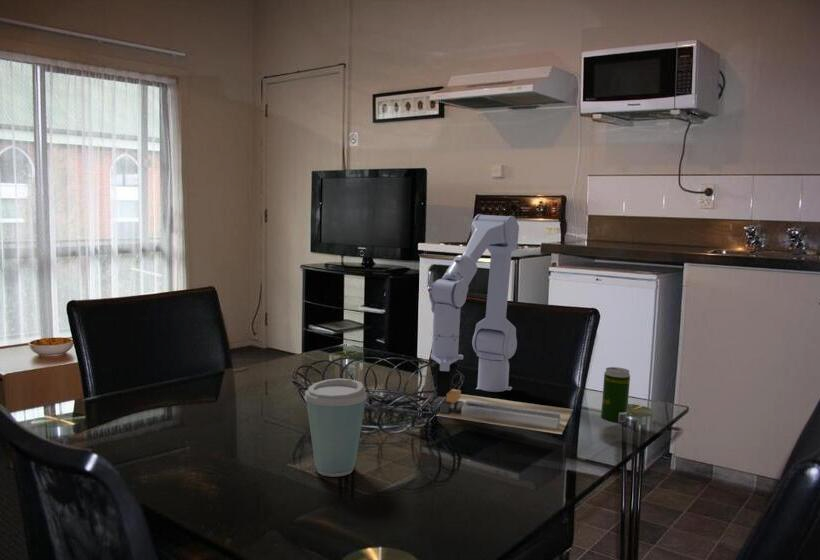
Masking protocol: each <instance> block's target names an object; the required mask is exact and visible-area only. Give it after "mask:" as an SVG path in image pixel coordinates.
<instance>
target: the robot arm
mask: <svg viewBox="0 0 820 560" xmlns="http://www.w3.org/2000/svg"><path fill="white" fill-rule="evenodd" d="M470 229H471V231H470V232H471V236H470V239H469V240H468V243H467V244H466V247H465V248H464V251H463V253H462V254H459V255H456V256H455V257H454V258H453V260H452V262H451V264H450V265H449V266H448V268H447V269H446V271H445V273H444V274H443V276H442V277H441V278H439V279H437V280H434V282H433V283H432V284H431V286H430V291H429V293H428V294H429V295H428V297H429V302H430V304H431V312H432V313H433V320H432V321H433V323H432V324H433V325H432V343H431V353H430V358H431V360H433V361H432V362H431V364H430V365H431V370H432V373H433V375H434V378H435V384H436V392H437V394H436V395H437V398H438V397H445V396H446V394H447V393H448V392H449V391H450V389H451V385H452V381H453V378H454V375H455V373H456V372H457V370H458V363H457V361H458V360H464V355H463V354H459V348H460V347H459V345H460V344H459V342H460V324H461V308H462V307H463V306H464V304H465V303H466V300H467V296H468V292H469V285H470V283H471V282H472V280H473V278H474V276H476V273H477V271H478V266H477V262H478V261H479V260H480V258H481V257H482V255H484V253H485V252H486V250H487V251H488V252H489V253H490V260H489V261H490V262H489V274H488V283H487V284H488V285H487V296H486V307H485V308H486V309H485V317H484V318H483V319H481V320H479V322H477V323H476V324H475V329H474V333H473V336H472V341H471V344H472V345H471V346H472V348H473V351H474V353H475V354H476V357H478V369H477V371H478V373H477V385H476V386H477V387H476V388H475V390H481V391H485V392H491V393H492V392H493V393H499V392H504V391H511V390H512V389H513V387H512V386H509V377H510V376H509V375H510V362H509V359H511V358H512V357H513V356H514V355H515V353H516V351H517V347H518V340H517V328H516V326H515V325H513V323H512V322H510V320H508V318H507V310H508V299H509V290H510V289H509V288H510V277H511V276H510V275H511V266H512V265H511V263H512V252H514V251H516V250H517V249H518V244H519V233H520V225H519V223H518V220H517V218H516V217H515V216H514V215H509V216H508V215H493V214H491V215H490V214H488V215H487V214H482V213H478V214H476V216H474V218H473V220H472V222H471V228H470Z"/></svg>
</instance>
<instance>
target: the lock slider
mask: <svg viewBox="0 0 820 560" xmlns="http://www.w3.org/2000/svg"><path fill="white" fill-rule="evenodd" d="M461 394H462V390H461V389H454V388H451V390H449V392H448V393H447V402H454V403H456V402H457V401H458V400H459V399H460V398H461Z"/></svg>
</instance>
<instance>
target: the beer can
mask: <svg viewBox="0 0 820 560" xmlns="http://www.w3.org/2000/svg"><path fill="white" fill-rule="evenodd" d="M630 382H631V374H630V370H629V369H627V368H622V367H618V366H617V367H615V366H614V367H613V366H610V367H606V368H605V371H604V375H603V388H602V399H601V411H600V412H601V415H600V418H601V419H602V420H605V421H608V422H611V423H625V422H627V418H628V408H629V395H630Z"/></svg>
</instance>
